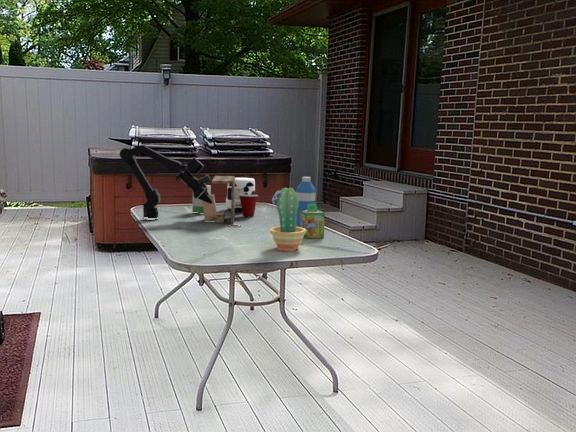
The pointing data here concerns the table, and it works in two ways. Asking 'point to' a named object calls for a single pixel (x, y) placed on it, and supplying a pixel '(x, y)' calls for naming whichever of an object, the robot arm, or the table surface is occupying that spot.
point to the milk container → (240, 191)
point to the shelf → (231, 181)
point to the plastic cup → (248, 204)
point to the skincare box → (199, 202)
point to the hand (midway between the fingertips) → (212, 202)
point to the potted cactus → (287, 221)
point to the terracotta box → (210, 207)
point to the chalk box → (312, 222)
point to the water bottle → (305, 196)
